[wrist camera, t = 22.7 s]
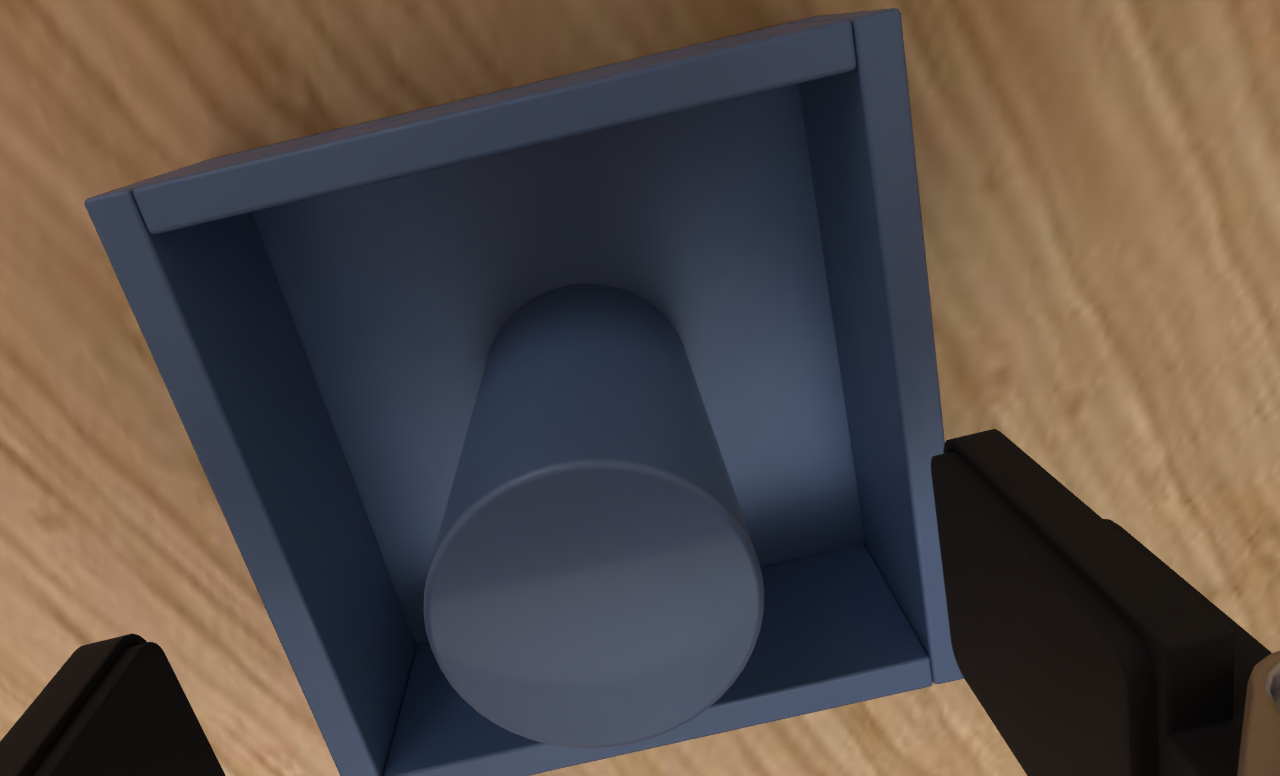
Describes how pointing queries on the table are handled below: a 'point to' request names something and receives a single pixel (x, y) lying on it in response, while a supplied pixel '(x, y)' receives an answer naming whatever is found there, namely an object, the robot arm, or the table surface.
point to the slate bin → (511, 277)
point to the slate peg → (591, 533)
